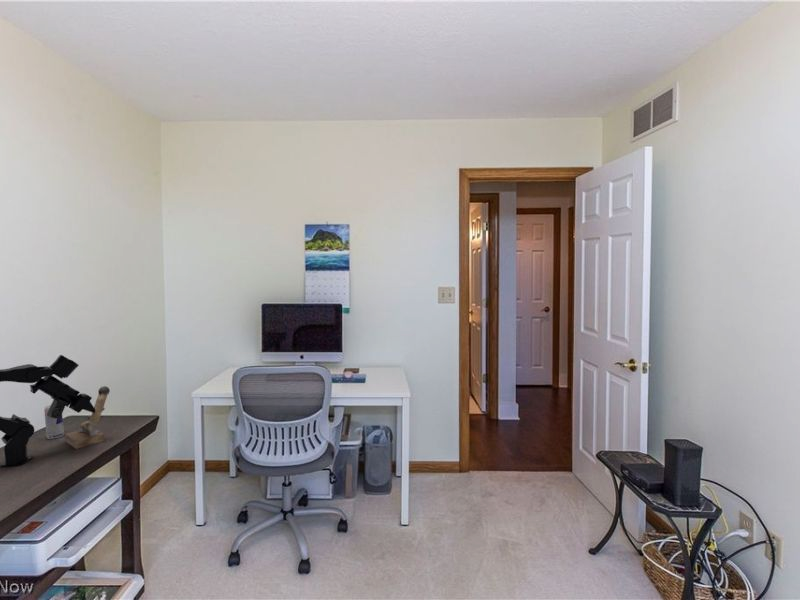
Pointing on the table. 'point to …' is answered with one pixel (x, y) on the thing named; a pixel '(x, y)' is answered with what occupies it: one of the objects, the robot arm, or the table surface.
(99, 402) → the lever
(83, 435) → the press bench
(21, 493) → the table surface
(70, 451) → the table surface
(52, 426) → the energy drink
